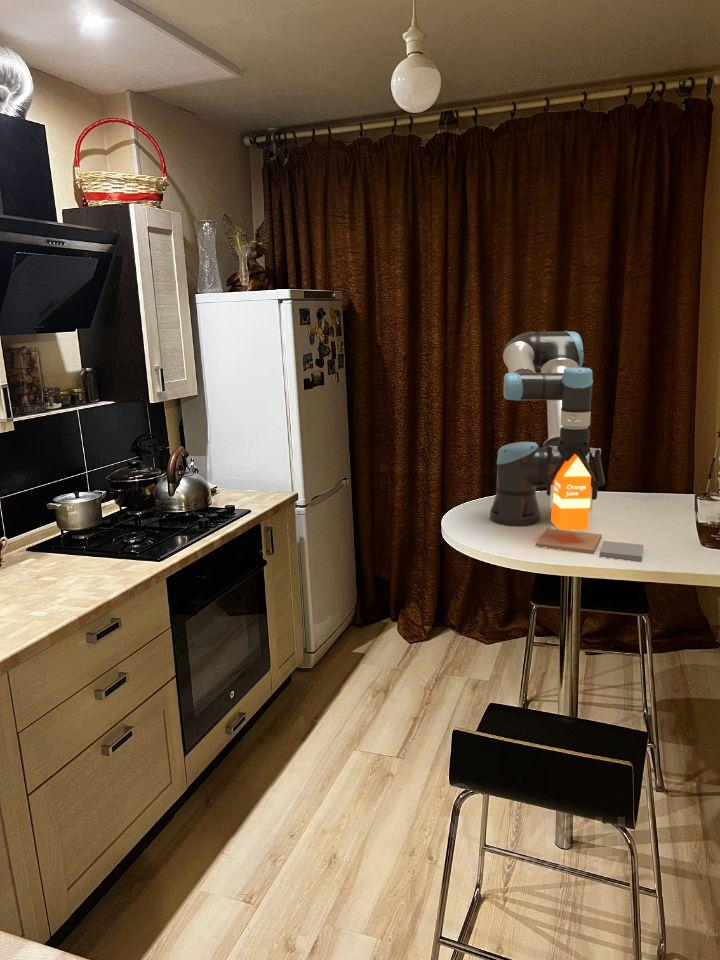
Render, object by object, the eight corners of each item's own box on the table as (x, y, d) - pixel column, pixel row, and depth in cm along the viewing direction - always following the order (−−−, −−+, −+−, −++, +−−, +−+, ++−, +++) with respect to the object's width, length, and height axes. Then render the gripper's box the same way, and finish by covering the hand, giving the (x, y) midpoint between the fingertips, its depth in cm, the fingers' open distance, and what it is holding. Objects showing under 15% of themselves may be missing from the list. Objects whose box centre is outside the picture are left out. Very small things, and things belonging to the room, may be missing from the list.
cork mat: (535, 546, 196) (535, 543, 196) (546, 531, 209) (547, 528, 209) (593, 553, 190) (593, 550, 190) (601, 537, 203) (601, 534, 203)
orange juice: (559, 530, 194) (563, 456, 190) (550, 520, 203) (553, 450, 198) (588, 529, 194) (593, 456, 190) (578, 520, 203) (582, 449, 198)
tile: (603, 547, 196) (599, 559, 187) (603, 540, 196) (600, 551, 187) (642, 552, 192) (641, 563, 184) (643, 544, 192) (641, 556, 183)
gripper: (530, 426, 194) (527, 508, 199) (617, 431, 185) (611, 516, 190) (536, 423, 200) (533, 502, 205) (620, 426, 191) (615, 509, 196)
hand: (570, 509), depth 197 cm, fingers closed on orange juice, 9 cm apart
